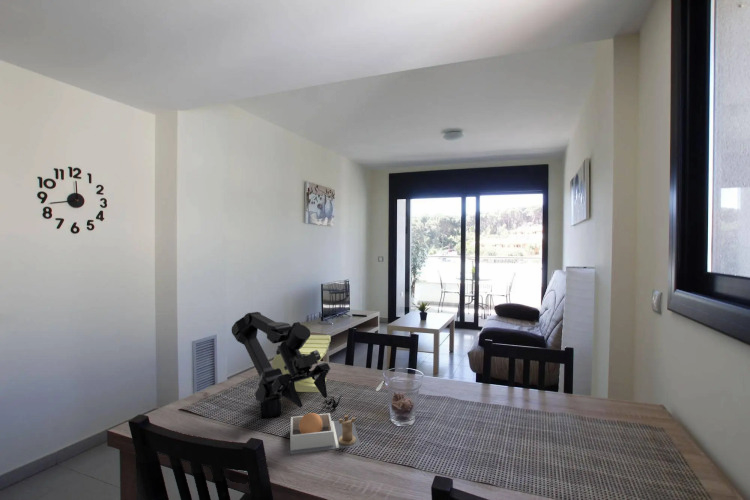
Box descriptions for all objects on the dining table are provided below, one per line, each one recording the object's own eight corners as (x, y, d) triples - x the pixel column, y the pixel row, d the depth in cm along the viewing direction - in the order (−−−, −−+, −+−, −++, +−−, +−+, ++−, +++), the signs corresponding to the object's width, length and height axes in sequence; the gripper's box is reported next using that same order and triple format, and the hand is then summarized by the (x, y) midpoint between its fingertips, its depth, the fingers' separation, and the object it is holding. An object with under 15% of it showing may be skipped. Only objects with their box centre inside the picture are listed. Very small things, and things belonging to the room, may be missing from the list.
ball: (297, 443, 108) (296, 419, 108) (301, 432, 115) (300, 409, 115) (321, 442, 108) (320, 417, 108) (324, 430, 115) (323, 408, 115)
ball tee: (339, 446, 106) (339, 423, 106) (338, 437, 111) (337, 415, 111) (357, 444, 107) (356, 421, 107) (354, 435, 112) (354, 414, 112)
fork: (370, 393, 147) (370, 389, 147) (387, 374, 170) (387, 370, 170) (378, 394, 146) (378, 390, 146) (393, 374, 169) (393, 370, 169)
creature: (315, 413, 132) (330, 414, 127) (312, 397, 133) (328, 398, 128) (330, 405, 138) (345, 406, 133) (328, 390, 139) (343, 391, 134)
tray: (290, 450, 104) (290, 436, 104) (291, 429, 116) (290, 416, 116) (333, 445, 107) (333, 431, 107) (329, 425, 119) (329, 413, 119)
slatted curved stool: (296, 373, 171) (296, 334, 171) (330, 374, 169) (330, 335, 169) (272, 399, 141) (272, 352, 141) (313, 401, 140) (313, 353, 139)
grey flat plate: (289, 456, 102) (289, 453, 102) (290, 427, 119) (290, 425, 119) (361, 447, 107) (361, 445, 107) (352, 420, 123) (352, 418, 123)
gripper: (276, 349, 107) (299, 397, 100) (326, 337, 121) (350, 379, 113) (262, 370, 113) (283, 417, 105) (312, 357, 126) (333, 398, 119)
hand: (314, 402), depth 110 cm, fingers open, 9 cm apart
